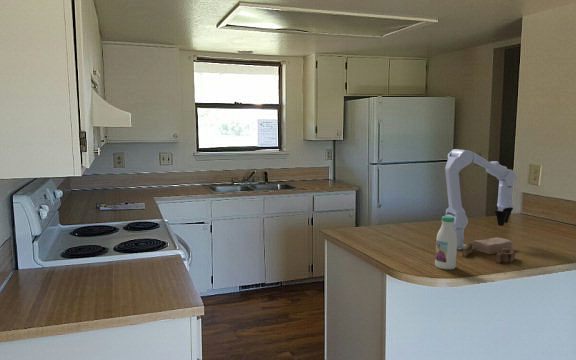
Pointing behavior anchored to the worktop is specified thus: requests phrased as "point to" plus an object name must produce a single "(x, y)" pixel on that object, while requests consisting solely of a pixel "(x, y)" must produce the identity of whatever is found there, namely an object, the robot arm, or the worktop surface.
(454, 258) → the milk bottle
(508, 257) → the tunnel
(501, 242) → the brick
